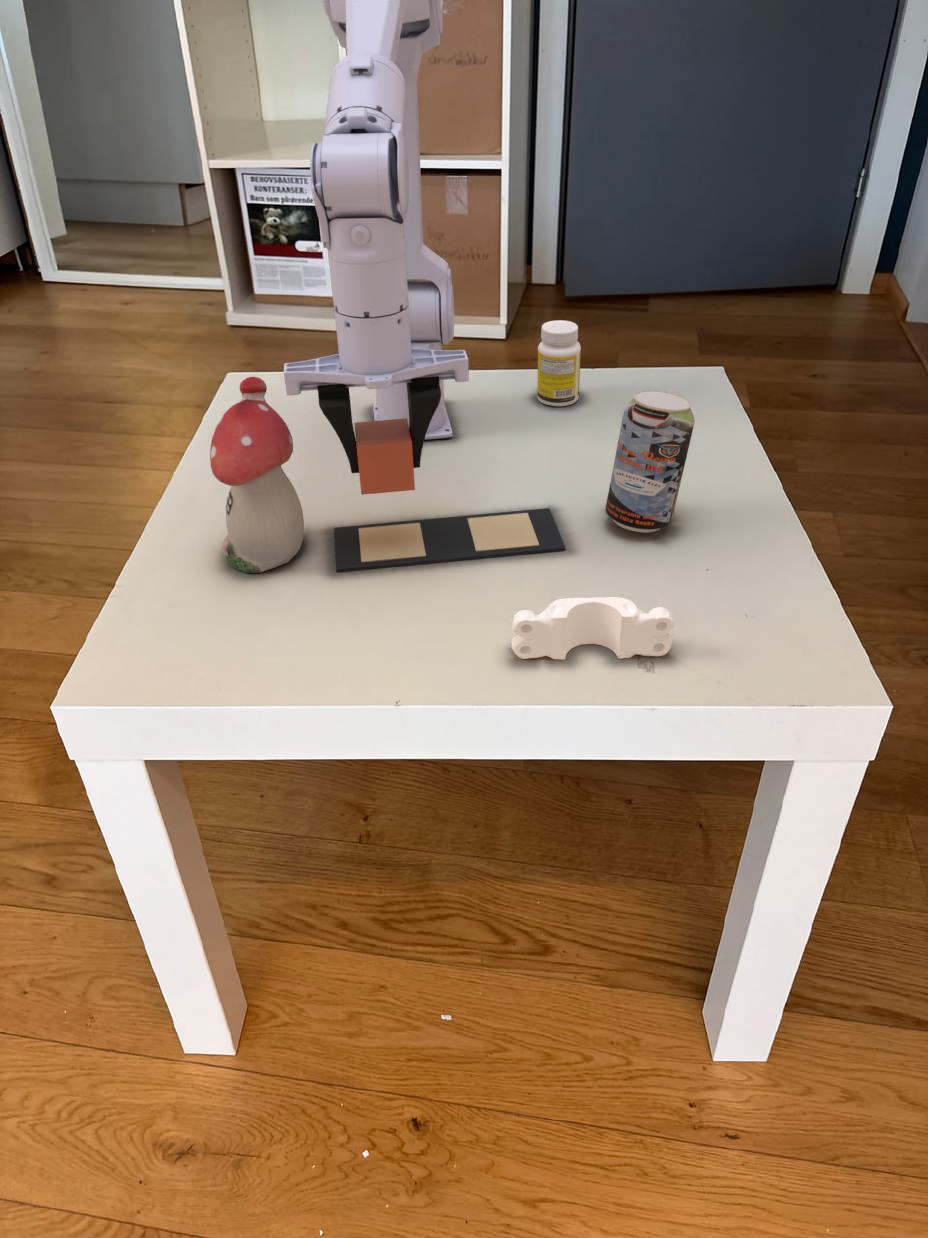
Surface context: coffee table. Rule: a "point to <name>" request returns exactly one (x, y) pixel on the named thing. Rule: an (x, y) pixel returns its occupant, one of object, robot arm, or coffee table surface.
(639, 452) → the beverage can
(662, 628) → the pipe clamp
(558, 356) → the supplement bottle
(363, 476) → the orange red cube
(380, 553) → the black rectangular board
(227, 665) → the coffee table surface
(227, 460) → the decorative ornament
